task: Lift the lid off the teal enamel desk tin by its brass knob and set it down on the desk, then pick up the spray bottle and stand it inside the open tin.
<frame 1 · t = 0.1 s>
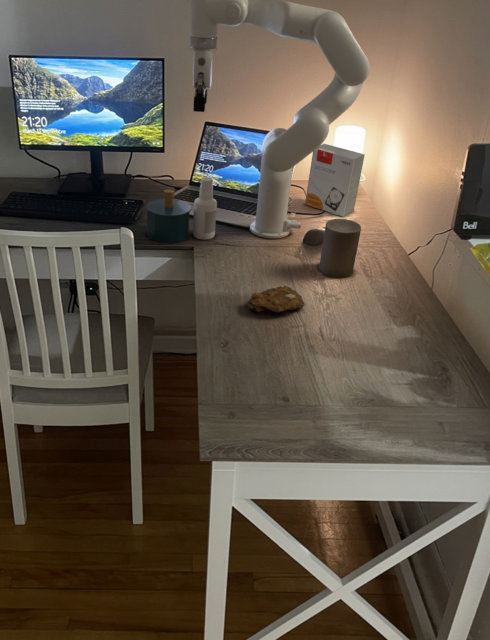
hand: (200, 107, 196), 37 cm above the table, tool pointing down, fingers open, 9 cm apart
hard drive box: (329, 208, 233), on the table
spray bottle: (203, 236, 210), on the table
tin: (167, 234, 210), on the table
tin lid: (168, 208, 205), point 8 cm above the table, touching tin
decorative rock: (274, 308, 174), on the table
pillar candle: (335, 270, 193), on the table
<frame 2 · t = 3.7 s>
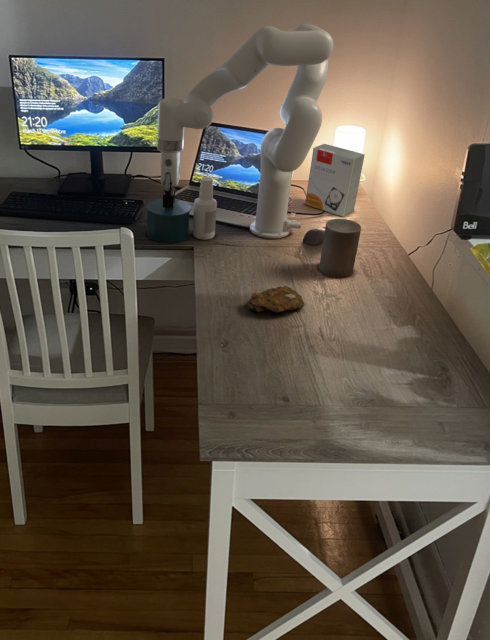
hand: (168, 204, 204), 10 cm above the table, tool pointing down, fingers closed on tin lid, 3 cm apart
tin lid: (168, 208, 205), point 9 cm above the table, touching gripper, tin
everything else where it was.
when the fingers open (2 cm above the table, at t = 11.6 s): tin lid stays where it is, point 1 cm above the table.
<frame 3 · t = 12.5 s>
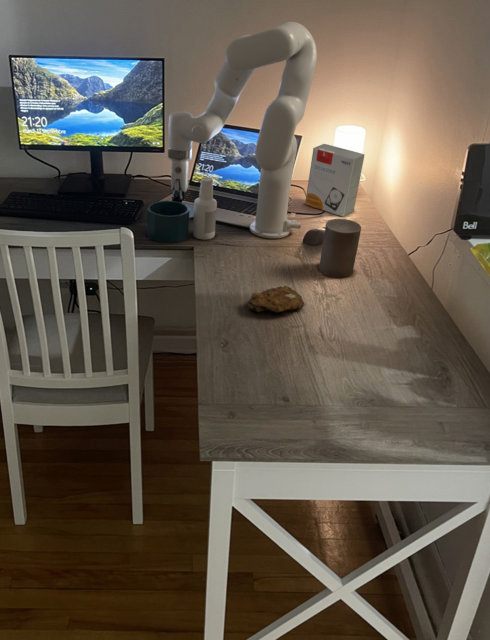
hand: (178, 205, 222), 3 cm above the table, tool pointing down, fingers open, 9 cm apart
tin lid: (177, 212, 223), point 1 cm above the table
everything else where it was.
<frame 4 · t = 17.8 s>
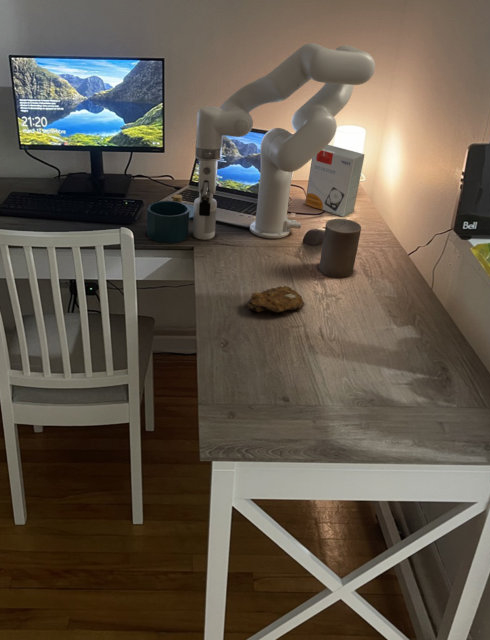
hand: (205, 210, 205), 8 cm above the table, tool pointing down, fingers closed on spray bottle, 6 cm apart
spray bottle: (203, 236, 210), on the table, touching gripper
everything else where it was.
when the fingers open (9 cm above the table, at t = 26.6 s): spray bottle stays where it is, resting on tin.
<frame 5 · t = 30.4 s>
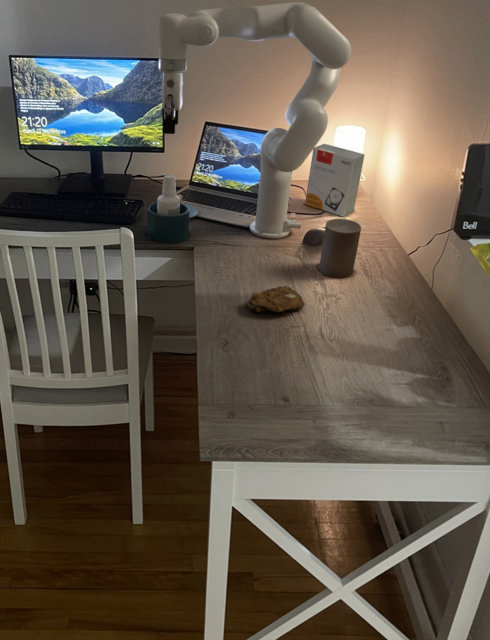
hand: (170, 128, 192), 32 cm above the table, tool pointing down, fingers open, 9 cm apart
spray bottle: (167, 233, 209), resting on tin
everything else where it was.
at the end: tin lid inside the target area (0.2 cm from its centre), point 0.6 cm above the table; spray bottle inside the target area in the tin (0.0 cm from its centre), point 0.3 cm above the tin's base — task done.
